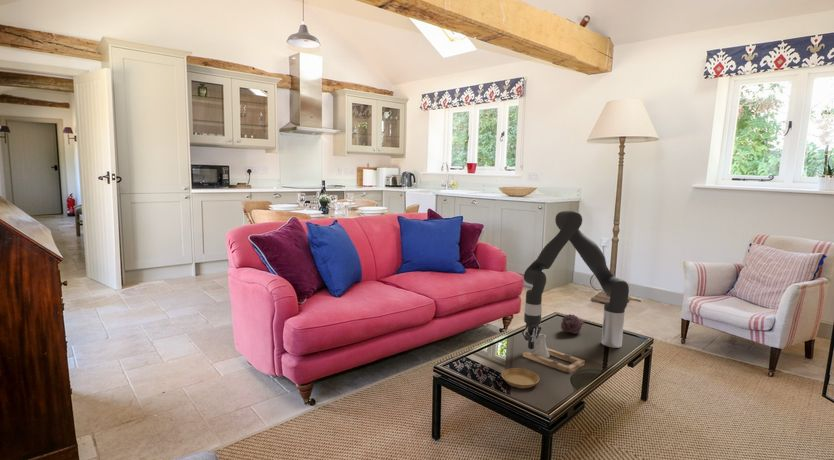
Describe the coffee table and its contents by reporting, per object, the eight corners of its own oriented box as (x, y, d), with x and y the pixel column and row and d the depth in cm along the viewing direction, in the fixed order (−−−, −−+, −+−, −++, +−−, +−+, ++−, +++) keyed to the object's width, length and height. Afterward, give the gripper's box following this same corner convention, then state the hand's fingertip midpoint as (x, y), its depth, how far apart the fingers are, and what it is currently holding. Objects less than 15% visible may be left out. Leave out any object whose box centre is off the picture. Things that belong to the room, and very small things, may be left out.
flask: (540, 360, 198) (541, 339, 196) (529, 354, 204) (530, 333, 203) (552, 358, 201) (554, 336, 200) (541, 352, 207) (542, 331, 206)
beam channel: (538, 349, 211) (538, 344, 211) (584, 364, 194) (584, 359, 194) (522, 356, 202) (522, 351, 202) (569, 373, 185) (570, 368, 185)
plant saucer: (546, 382, 177) (546, 376, 177) (526, 395, 167) (526, 388, 166) (514, 370, 187) (514, 365, 187) (493, 381, 177) (493, 375, 177)
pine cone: (569, 339, 224) (570, 320, 223) (552, 334, 232) (553, 315, 231) (588, 332, 235) (589, 314, 234) (571, 327, 243) (573, 309, 242)
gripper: (533, 307, 211) (531, 342, 214) (517, 313, 202) (515, 349, 205) (547, 311, 206) (545, 347, 208) (532, 317, 197) (529, 354, 199)
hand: (530, 348), depth 206 cm, fingers closed
